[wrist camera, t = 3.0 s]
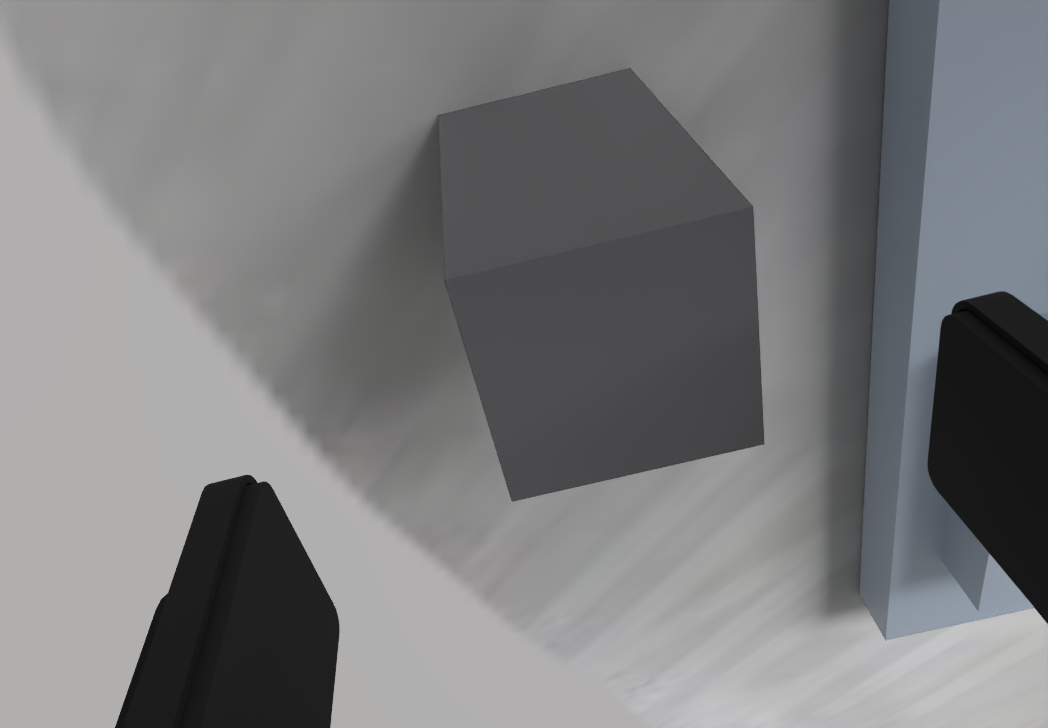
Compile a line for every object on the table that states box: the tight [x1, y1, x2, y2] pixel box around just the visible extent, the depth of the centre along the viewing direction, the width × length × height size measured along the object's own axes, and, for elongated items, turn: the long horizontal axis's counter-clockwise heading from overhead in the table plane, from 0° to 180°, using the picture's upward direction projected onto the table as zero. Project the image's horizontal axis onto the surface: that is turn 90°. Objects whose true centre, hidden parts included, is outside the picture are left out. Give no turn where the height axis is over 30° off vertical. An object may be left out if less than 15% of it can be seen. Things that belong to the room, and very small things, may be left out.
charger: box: [438, 68, 764, 501], centre depth 16 cm, size 5×4×8 cm
